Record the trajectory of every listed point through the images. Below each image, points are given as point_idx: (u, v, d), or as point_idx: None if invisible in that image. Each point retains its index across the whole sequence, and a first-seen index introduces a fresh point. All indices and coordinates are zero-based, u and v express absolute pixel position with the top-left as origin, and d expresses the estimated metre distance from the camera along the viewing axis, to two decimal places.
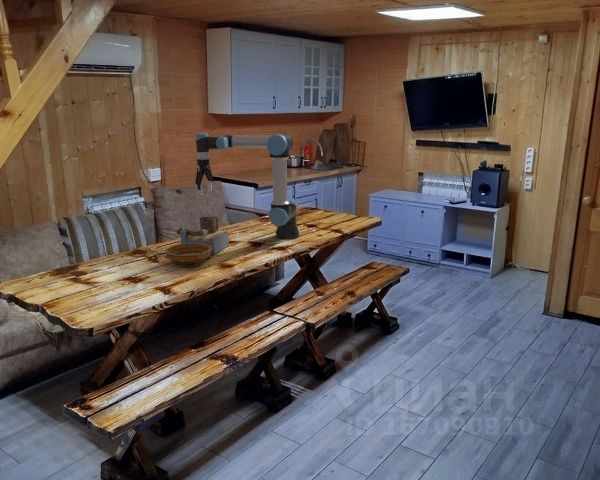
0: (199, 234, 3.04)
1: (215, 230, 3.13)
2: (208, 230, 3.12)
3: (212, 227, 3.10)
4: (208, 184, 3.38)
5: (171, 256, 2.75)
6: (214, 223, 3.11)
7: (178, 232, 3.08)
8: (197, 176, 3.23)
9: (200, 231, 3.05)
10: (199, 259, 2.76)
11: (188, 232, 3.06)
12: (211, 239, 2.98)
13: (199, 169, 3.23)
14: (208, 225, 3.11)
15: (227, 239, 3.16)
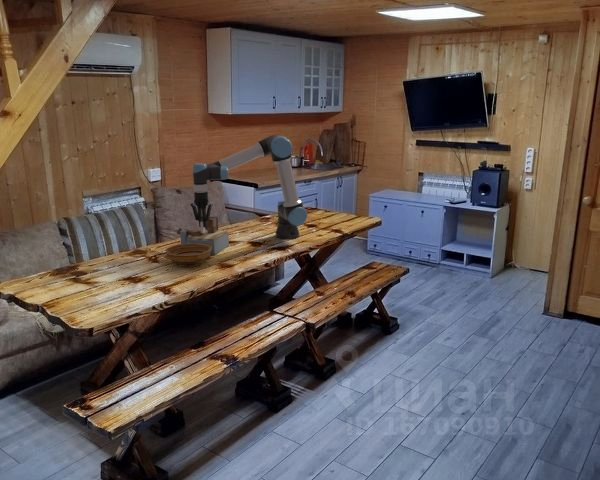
0: (199, 234, 3.04)
1: (215, 230, 3.13)
2: (208, 230, 3.12)
3: (212, 227, 3.10)
4: None
5: (171, 256, 2.75)
6: (214, 223, 3.11)
7: (178, 232, 3.08)
8: None
9: (200, 231, 3.05)
10: (199, 259, 2.76)
11: (188, 232, 3.06)
12: (211, 239, 2.98)
13: None
14: (208, 225, 3.11)
15: (227, 239, 3.16)
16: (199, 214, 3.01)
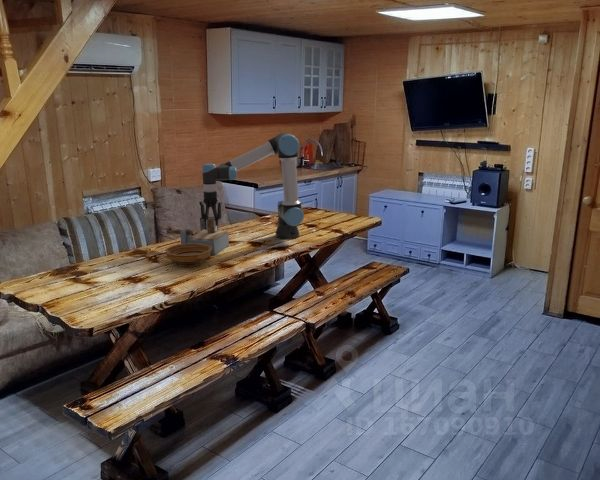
0: (188, 233, 3.06)
1: None
2: (208, 230, 3.12)
3: (212, 227, 3.10)
4: None
5: (171, 256, 2.75)
6: None
7: (168, 231, 3.09)
8: None
9: (189, 230, 3.07)
10: (199, 259, 2.76)
11: (177, 231, 3.08)
12: (211, 239, 2.98)
13: None
14: (208, 225, 3.11)
15: (227, 239, 3.16)
16: (206, 213, 3.10)
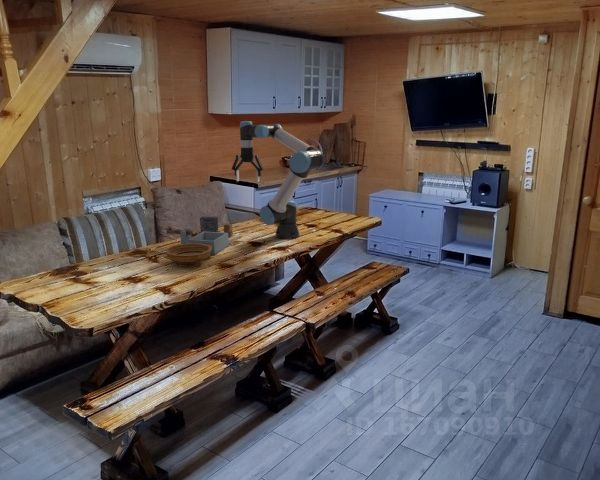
0: (188, 233, 3.06)
1: (231, 235, 3.36)
2: None
3: (228, 232, 3.34)
4: None
5: (171, 256, 2.75)
6: (230, 228, 3.35)
7: (168, 231, 3.09)
8: None
9: (189, 230, 3.07)
10: (199, 259, 2.76)
11: (177, 231, 3.08)
12: None
13: None
14: (225, 230, 3.34)
15: (227, 239, 3.16)
16: (238, 165, 3.32)
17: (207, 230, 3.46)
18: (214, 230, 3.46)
